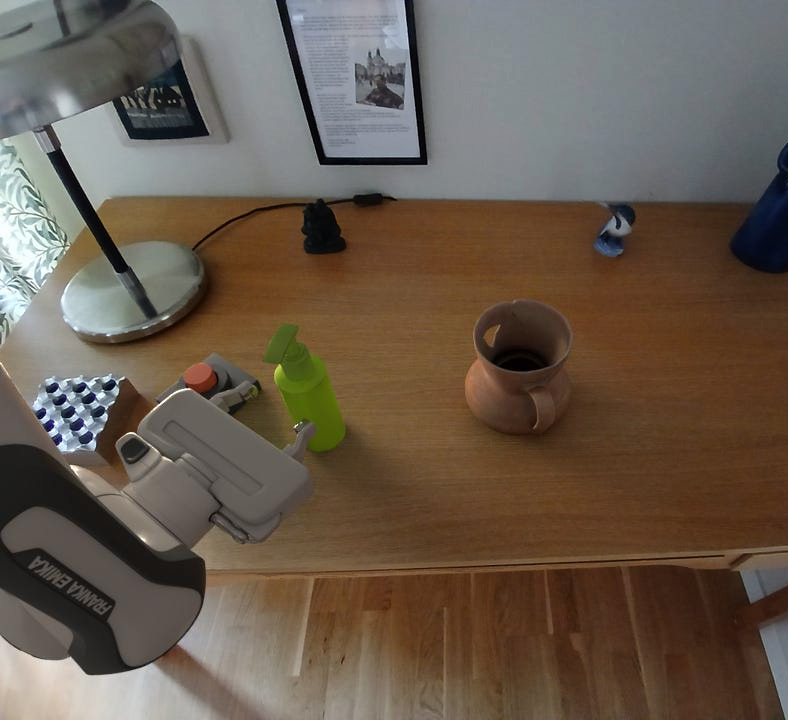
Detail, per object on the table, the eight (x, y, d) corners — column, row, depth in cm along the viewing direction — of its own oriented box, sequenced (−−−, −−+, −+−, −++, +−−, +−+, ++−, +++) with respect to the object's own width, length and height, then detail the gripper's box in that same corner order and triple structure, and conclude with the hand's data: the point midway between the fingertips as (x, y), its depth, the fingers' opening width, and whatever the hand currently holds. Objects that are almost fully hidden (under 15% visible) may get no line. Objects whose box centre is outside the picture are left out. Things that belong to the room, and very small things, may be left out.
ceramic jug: (452, 365, 82) (449, 295, 71) (545, 347, 85) (556, 277, 74) (483, 471, 71) (485, 408, 60) (589, 447, 73) (610, 382, 63)
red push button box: (205, 439, 74) (193, 422, 71) (161, 408, 77) (148, 390, 74) (262, 389, 79) (253, 371, 76) (219, 361, 82) (209, 343, 79)
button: (201, 398, 74) (195, 388, 72) (183, 385, 75) (177, 376, 73) (222, 380, 75) (217, 370, 74) (205, 368, 77) (199, 359, 75)
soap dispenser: (291, 455, 72) (242, 356, 57) (310, 411, 77) (269, 309, 61) (334, 462, 72) (296, 364, 56) (351, 417, 76) (320, 315, 61)
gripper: (241, 541, 51) (344, 433, 58) (105, 434, 58) (213, 349, 65) (261, 565, 55) (354, 462, 63) (134, 463, 62) (231, 382, 70)
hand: (281, 404), depth 64 cm, fingers open, 8 cm apart
